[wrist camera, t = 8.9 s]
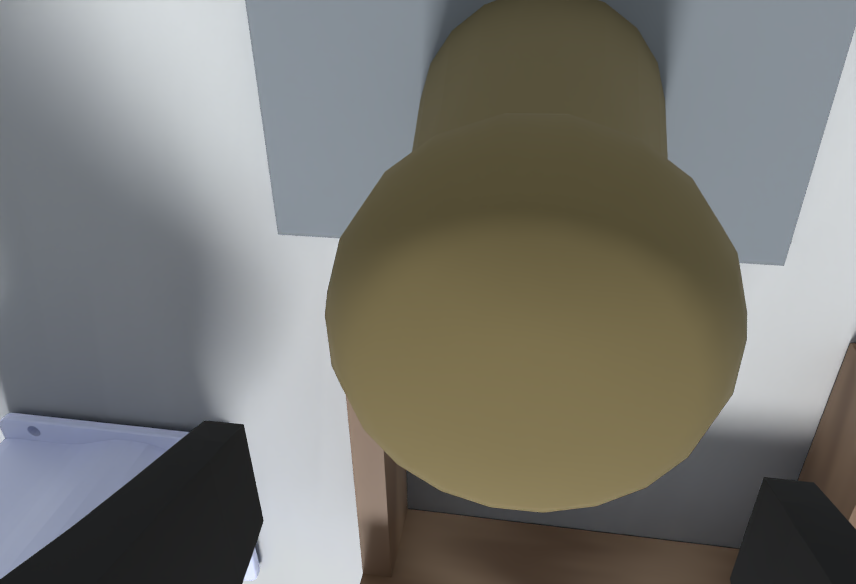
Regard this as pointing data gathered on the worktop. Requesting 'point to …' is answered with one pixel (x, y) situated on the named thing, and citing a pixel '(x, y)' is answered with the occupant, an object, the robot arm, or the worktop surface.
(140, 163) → the worktop surface
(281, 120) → the slate mat
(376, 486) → the walnut bay
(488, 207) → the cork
